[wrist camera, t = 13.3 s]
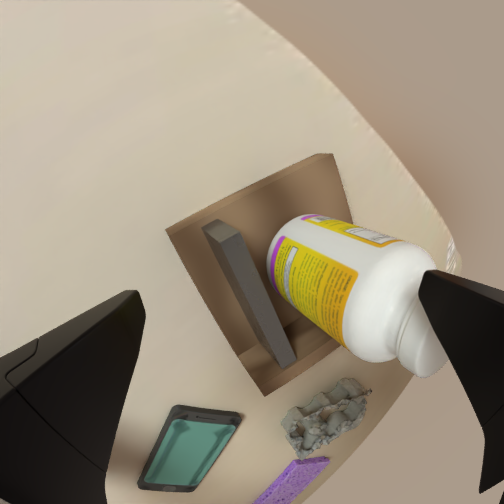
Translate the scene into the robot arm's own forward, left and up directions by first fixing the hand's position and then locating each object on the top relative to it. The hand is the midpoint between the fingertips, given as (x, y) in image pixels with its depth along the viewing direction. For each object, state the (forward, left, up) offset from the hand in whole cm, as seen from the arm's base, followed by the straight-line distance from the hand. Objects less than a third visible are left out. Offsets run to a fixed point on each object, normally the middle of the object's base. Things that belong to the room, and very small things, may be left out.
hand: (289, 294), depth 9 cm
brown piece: (-3, -7, -13) cm, 15 cm away
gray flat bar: (-4, -3, -11) cm, 13 cm away
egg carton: (-23, -14, -14) cm, 31 cm away
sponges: (-40, -12, -14) cm, 44 cm away
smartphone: (-25, +2, -14) cm, 28 cm away
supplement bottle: (-3, -8, -11) cm, 14 cm away
